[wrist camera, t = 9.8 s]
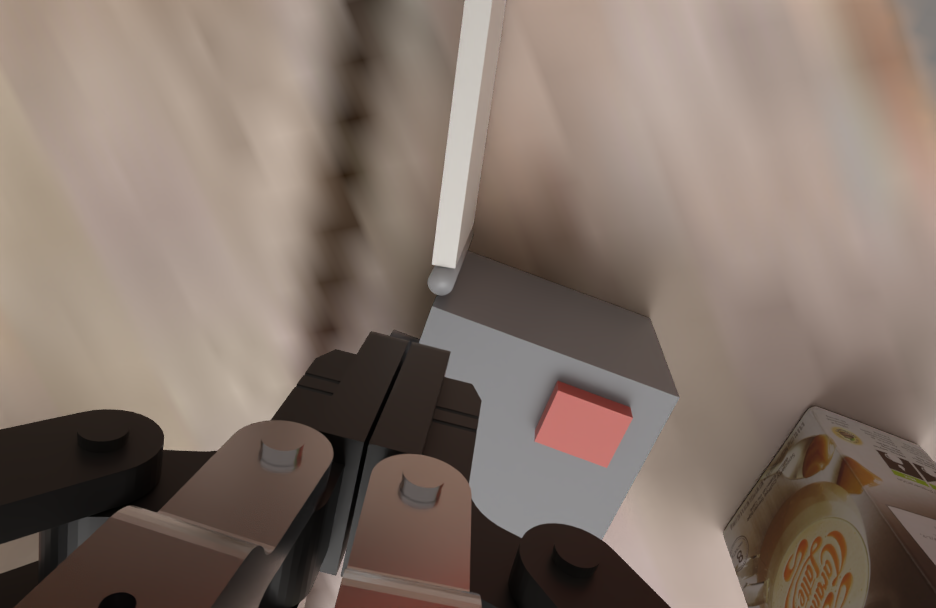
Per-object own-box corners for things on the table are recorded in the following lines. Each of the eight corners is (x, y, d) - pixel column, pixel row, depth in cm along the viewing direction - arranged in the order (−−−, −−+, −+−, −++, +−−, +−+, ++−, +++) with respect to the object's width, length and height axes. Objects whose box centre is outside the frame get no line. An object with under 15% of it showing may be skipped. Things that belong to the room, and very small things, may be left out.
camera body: (574, 470, 37) (581, 592, 28) (376, 398, 36) (326, 500, 28) (650, 318, 33) (683, 407, 25) (431, 237, 33) (392, 300, 25)
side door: (516, -63, 28) (506, -97, 21) (471, 245, 32) (451, 297, 26) (480, -68, 28) (458, -104, 21) (441, 240, 33) (413, 290, 26)
